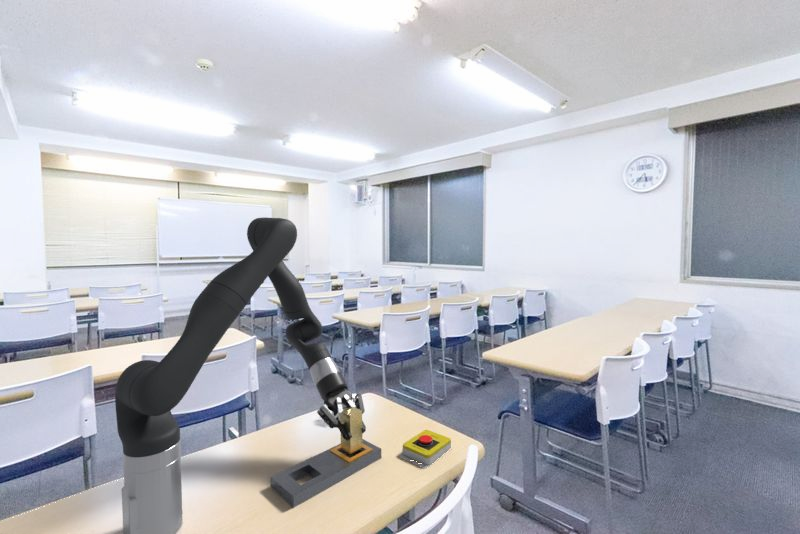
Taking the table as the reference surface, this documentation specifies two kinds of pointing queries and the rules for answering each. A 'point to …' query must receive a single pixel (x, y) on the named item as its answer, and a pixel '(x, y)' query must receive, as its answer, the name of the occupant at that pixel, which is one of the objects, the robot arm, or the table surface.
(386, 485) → the table surface
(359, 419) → the brass peg
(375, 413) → the table surface
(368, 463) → the peg board
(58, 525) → the table surface
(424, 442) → the emergency button
